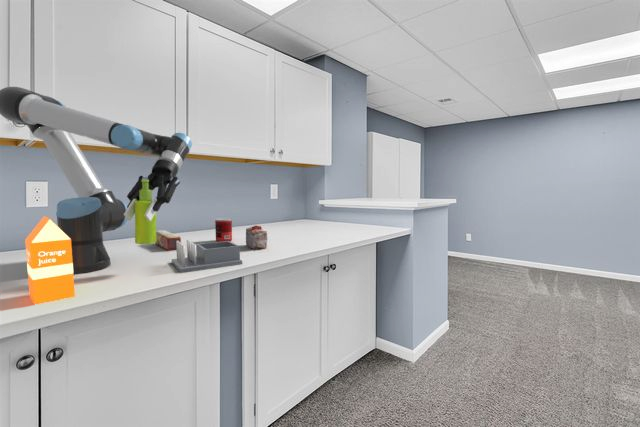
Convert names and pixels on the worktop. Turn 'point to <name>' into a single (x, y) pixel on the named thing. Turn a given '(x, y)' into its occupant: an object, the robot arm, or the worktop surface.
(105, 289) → the worktop surface
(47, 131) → the robot arm
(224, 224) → the canned food
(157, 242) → the snack package
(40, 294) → the orange juice
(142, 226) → the soap dispenser
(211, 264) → the dish rack
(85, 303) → the worktop surface
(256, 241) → the food item
